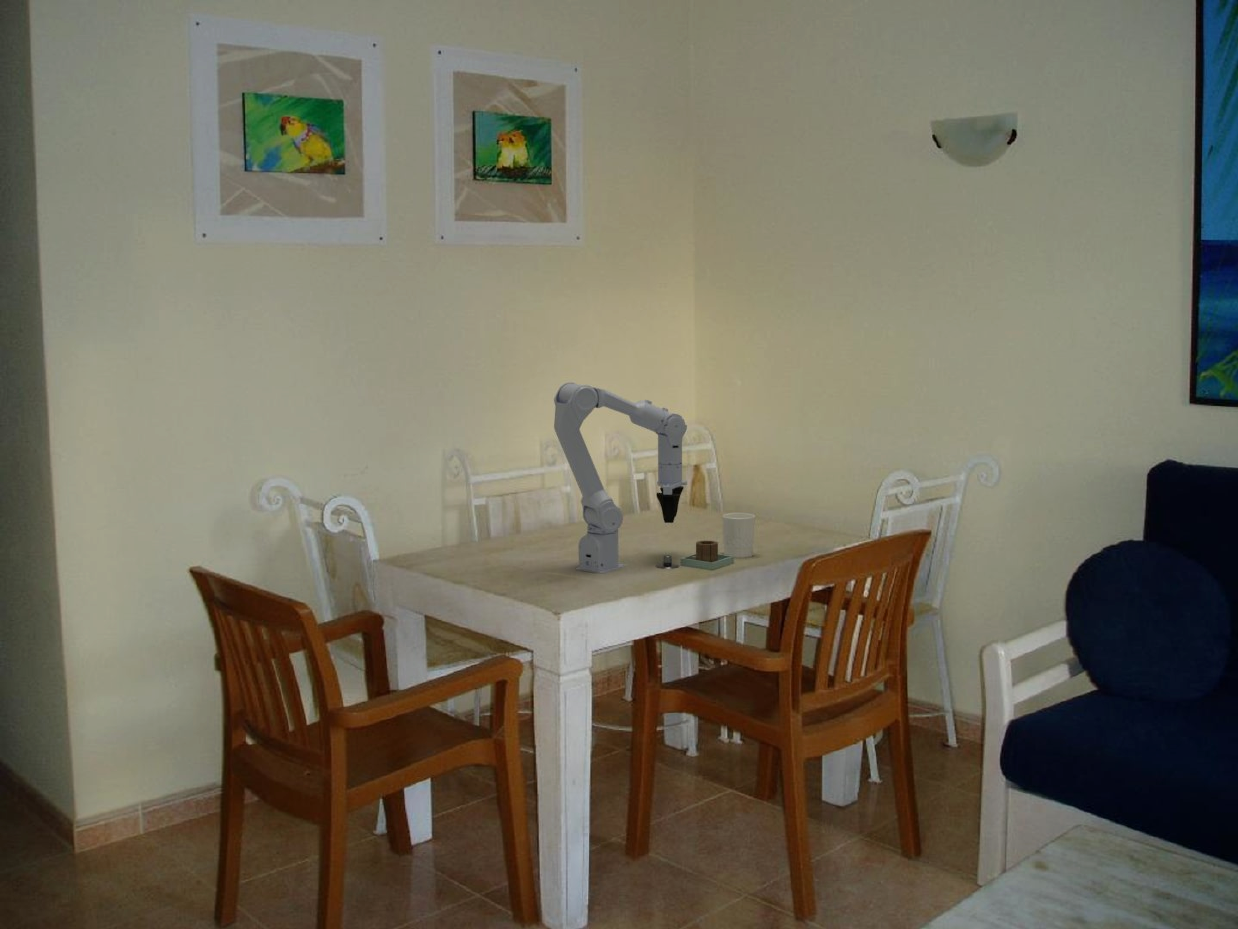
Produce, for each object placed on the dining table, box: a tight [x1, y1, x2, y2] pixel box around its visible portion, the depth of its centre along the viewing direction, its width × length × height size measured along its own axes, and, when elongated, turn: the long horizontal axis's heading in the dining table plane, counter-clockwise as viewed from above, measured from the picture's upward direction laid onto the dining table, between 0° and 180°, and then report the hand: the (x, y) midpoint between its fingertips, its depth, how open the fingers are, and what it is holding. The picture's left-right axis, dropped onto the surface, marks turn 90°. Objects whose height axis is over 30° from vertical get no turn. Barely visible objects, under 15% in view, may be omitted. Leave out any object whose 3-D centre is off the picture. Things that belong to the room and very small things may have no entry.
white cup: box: [721, 512, 756, 559], centre depth 311 cm, size 8×8×10 cm
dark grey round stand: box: [655, 554, 680, 570], centre depth 300 cm, size 6×6×3 cm
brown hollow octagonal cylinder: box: [692, 540, 719, 563], centre depth 301 cm, size 6×5×5 cm
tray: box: [680, 553, 735, 571], centre depth 301 cm, size 9×9×2 cm
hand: (670, 519), depth 306 cm, fingers open, 7 cm apart
